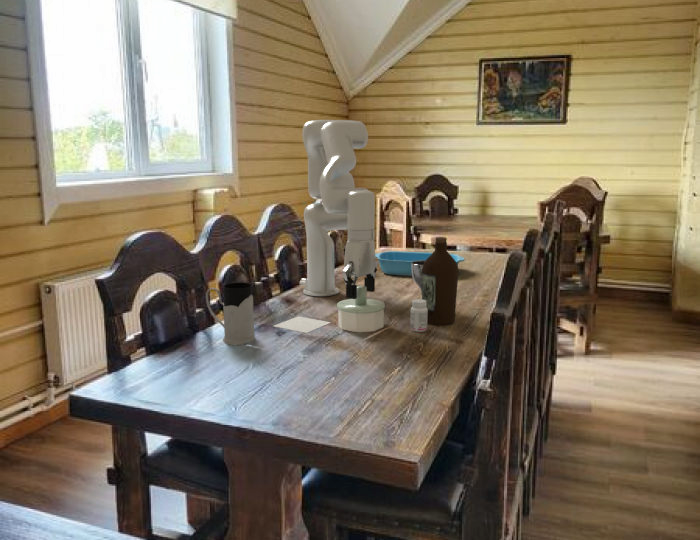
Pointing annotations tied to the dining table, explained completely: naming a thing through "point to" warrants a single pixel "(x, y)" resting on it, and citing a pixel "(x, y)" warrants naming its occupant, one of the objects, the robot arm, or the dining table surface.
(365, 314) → the bowl
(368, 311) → the lid
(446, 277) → the olive oil
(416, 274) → the wine glass
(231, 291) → the glass holder
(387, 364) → the dining table surface
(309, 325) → the mat
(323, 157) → the robot arm
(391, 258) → the casserole dish
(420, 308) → the pill bottle
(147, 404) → the dining table surface
